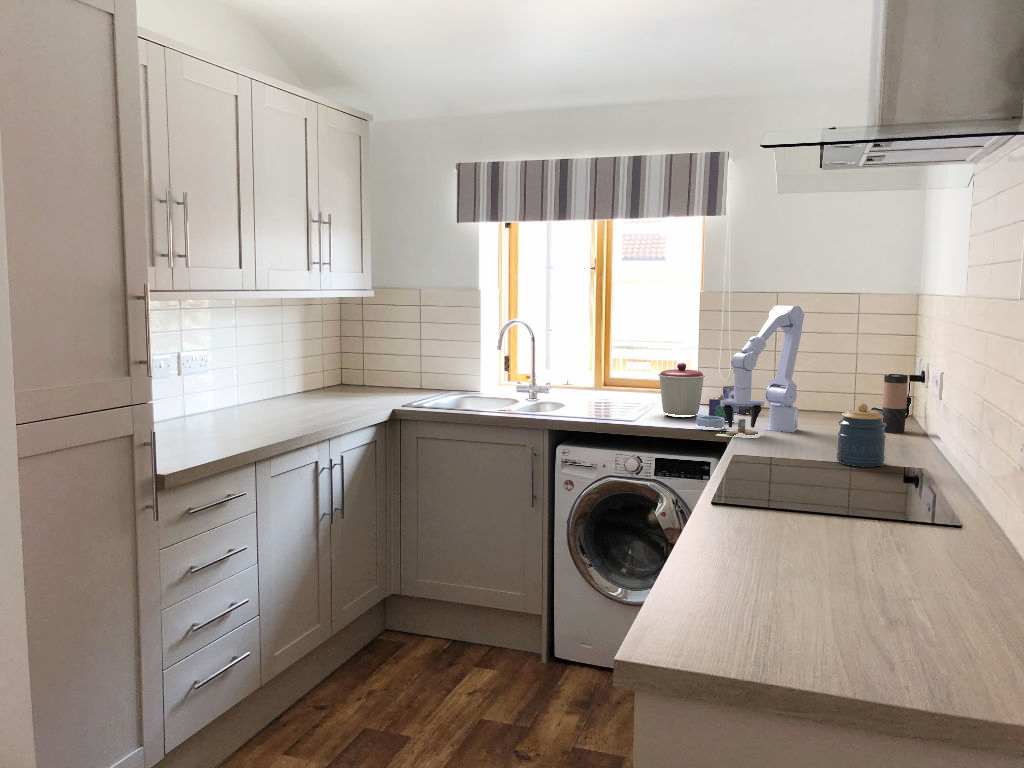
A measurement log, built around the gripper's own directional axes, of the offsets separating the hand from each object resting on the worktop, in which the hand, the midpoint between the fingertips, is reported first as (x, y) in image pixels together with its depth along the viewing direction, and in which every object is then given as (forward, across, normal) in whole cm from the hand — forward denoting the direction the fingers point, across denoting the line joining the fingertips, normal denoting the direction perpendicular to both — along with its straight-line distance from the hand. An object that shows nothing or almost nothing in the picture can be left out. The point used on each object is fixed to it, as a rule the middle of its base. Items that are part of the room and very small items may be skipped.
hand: (741, 427), depth 297 cm
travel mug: (+3, -55, -6) cm, 55 cm away
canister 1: (+3, +13, -40) cm, 43 cm away
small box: (+3, -11, -50) cm, 51 cm away
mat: (+3, 0, 0) cm, 3 cm away
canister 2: (+3, -23, +46) cm, 51 cm away
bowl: (+3, +8, -12) cm, 15 cm away
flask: (+3, +1, -26) cm, 26 cm away
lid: (+2, 0, 0) cm, 2 cm away
